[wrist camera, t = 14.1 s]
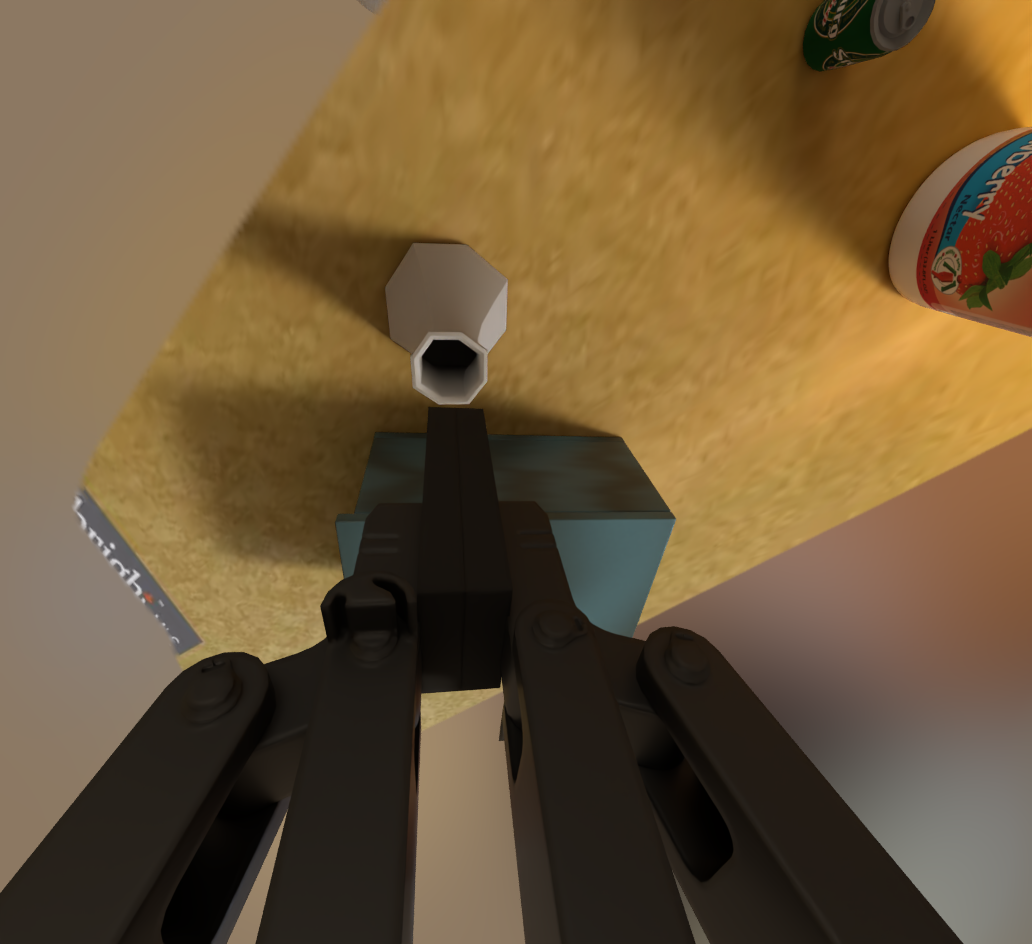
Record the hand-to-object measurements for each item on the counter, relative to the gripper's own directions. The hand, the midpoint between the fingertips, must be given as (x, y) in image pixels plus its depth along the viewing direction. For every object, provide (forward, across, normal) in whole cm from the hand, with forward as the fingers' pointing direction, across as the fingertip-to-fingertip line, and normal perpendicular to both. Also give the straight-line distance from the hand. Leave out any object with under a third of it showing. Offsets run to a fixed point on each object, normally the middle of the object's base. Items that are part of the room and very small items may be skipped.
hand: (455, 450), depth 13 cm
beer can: (+17, +18, +14) cm, 28 cm away
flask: (+16, 0, 0) cm, 16 cm away
